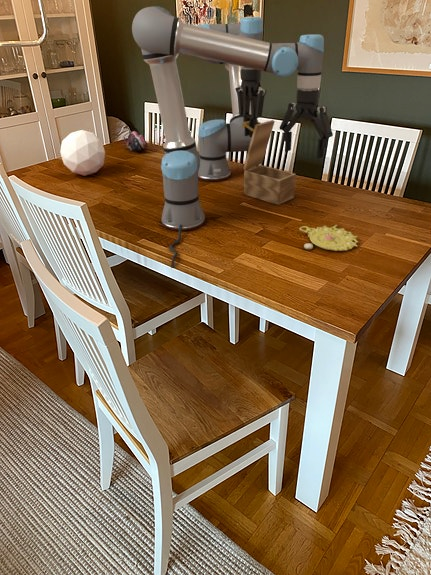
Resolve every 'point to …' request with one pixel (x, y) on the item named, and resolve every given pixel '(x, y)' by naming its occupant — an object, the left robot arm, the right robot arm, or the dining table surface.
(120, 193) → the dining table surface
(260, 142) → the lid
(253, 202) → the dining table surface
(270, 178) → the chest
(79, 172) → the sphere
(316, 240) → the decorative object
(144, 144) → the athletic shoe
